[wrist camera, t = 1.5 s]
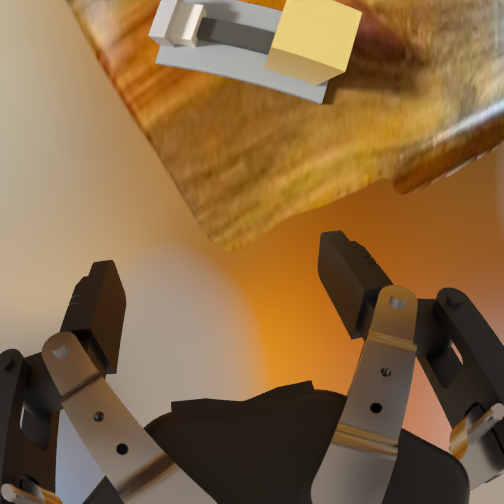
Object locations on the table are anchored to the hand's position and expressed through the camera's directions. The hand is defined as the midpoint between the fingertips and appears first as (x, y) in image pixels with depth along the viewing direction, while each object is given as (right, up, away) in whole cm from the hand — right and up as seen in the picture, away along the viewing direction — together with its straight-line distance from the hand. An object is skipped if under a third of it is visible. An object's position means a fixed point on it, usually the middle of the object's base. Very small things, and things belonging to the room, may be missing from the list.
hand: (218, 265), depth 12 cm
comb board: (+1, +20, +13) cm, 24 cm away
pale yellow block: (+5, +18, +12) cm, 23 cm away
